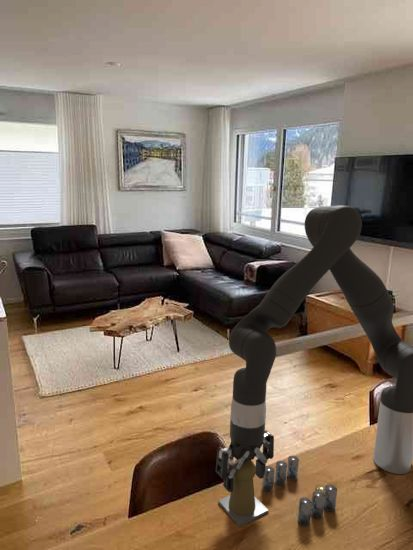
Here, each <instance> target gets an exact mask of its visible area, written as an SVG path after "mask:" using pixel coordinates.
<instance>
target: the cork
mask: <svg viewBox="0 0 413 550" xmlns="http://www.w3.org/2000/svg"><path fill="white" fill-rule="evenodd" d="M237 461H238V460H237V459H235V460H234V462H235V463H237ZM255 473H256V463H254V461H253V460H248V461H247V462H245V463H243V464H242V465H241V467H240V469H239V470H236V472H235V474H234V475H233V477H234V482H233V492H230V494H229V496H230V500H229V508H230V510H231V511H232V512H233V513H235V514H237V515H240V516H247V515H250V514H252V513H253V512H254V511H255V497H256V496H255V486H254V485H255V484H254V478H255V476H256V474H255Z"/></svg>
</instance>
